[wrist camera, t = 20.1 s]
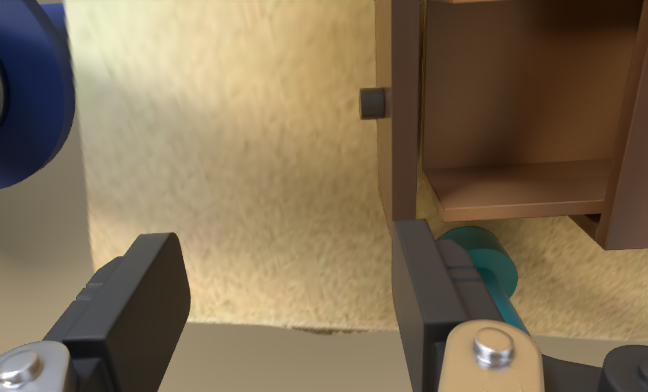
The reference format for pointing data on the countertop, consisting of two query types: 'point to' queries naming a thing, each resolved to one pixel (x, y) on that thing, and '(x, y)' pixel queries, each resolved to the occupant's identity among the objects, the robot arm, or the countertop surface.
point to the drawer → (499, 104)
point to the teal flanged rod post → (491, 268)
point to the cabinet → (627, 163)
